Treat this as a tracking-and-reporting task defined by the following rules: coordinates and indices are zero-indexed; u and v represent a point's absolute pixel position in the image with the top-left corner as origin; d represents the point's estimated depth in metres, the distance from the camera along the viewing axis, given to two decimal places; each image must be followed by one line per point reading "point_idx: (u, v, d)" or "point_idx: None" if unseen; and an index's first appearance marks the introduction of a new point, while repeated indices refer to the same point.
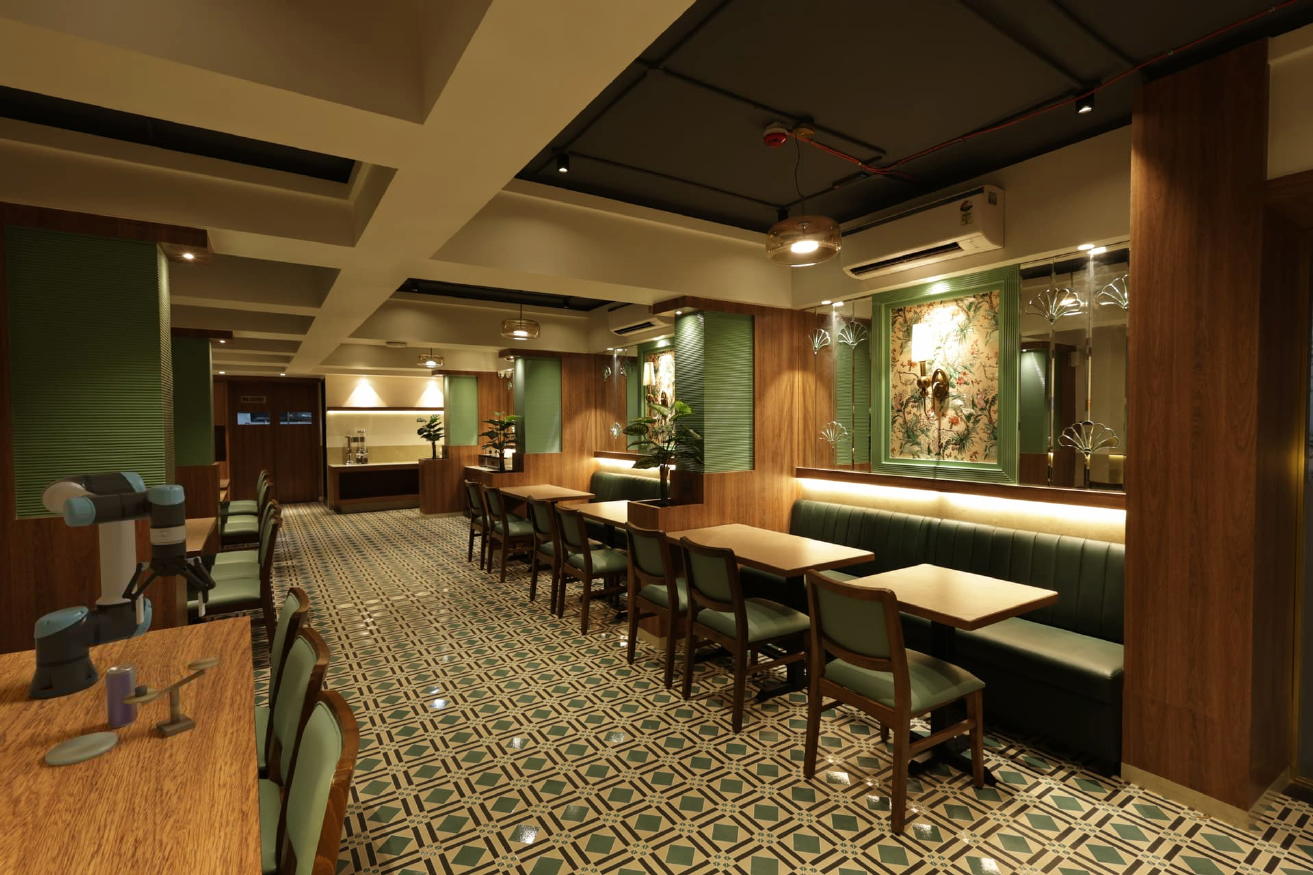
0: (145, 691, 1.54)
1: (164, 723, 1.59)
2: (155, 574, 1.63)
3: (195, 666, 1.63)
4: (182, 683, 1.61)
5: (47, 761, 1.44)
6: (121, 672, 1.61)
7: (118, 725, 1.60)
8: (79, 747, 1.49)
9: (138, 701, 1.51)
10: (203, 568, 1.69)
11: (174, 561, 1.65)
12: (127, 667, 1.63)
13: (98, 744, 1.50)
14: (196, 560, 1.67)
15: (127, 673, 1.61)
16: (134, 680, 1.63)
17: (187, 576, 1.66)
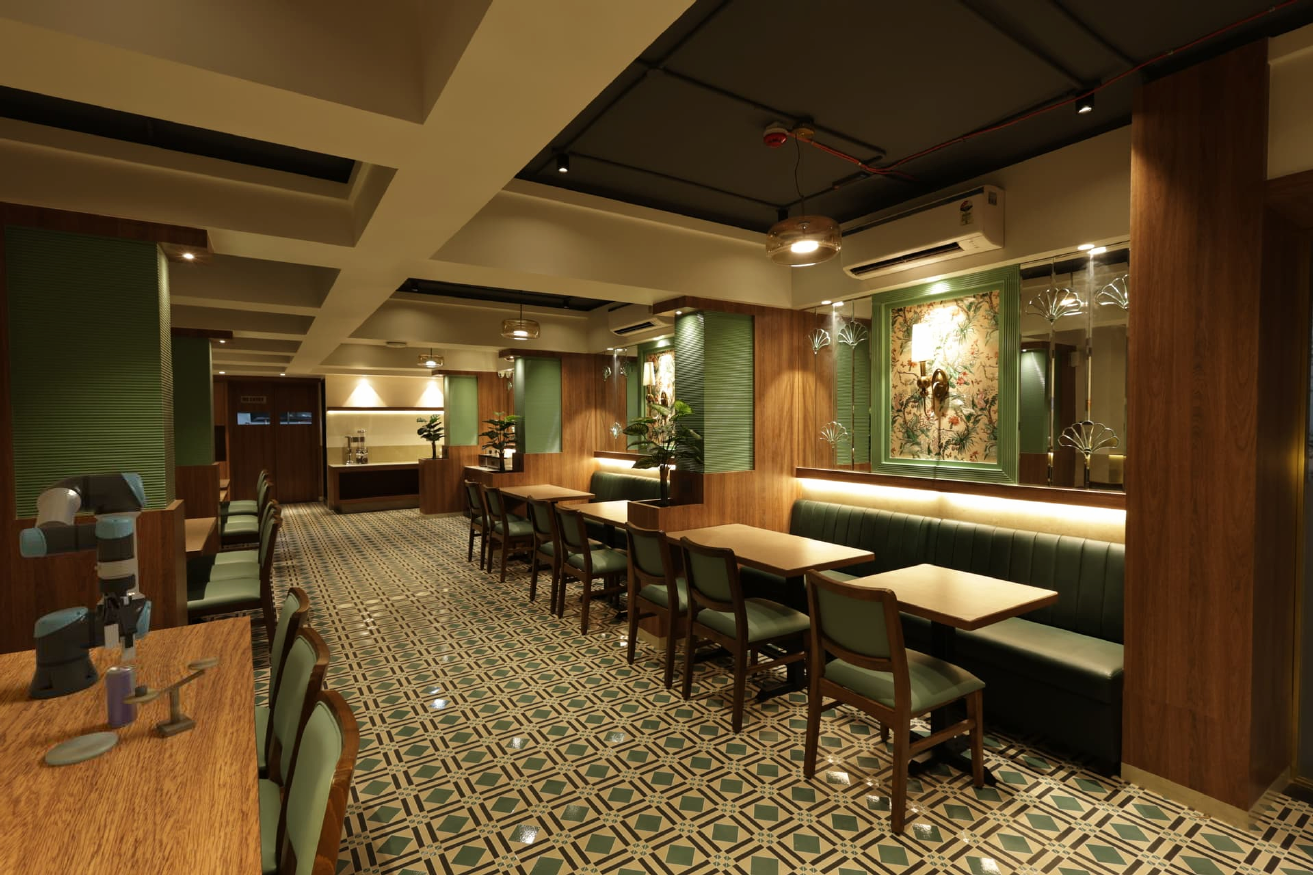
0: (145, 691, 1.54)
1: (164, 723, 1.59)
2: (106, 605, 1.62)
3: (195, 666, 1.63)
4: (182, 683, 1.61)
5: (47, 761, 1.44)
6: (121, 672, 1.61)
7: (118, 725, 1.60)
8: (79, 747, 1.49)
9: (138, 701, 1.51)
10: (126, 610, 1.57)
11: (113, 596, 1.60)
12: (127, 667, 1.63)
13: (98, 744, 1.50)
14: (119, 601, 1.57)
15: (127, 673, 1.61)
16: (134, 680, 1.63)
17: (117, 615, 1.58)
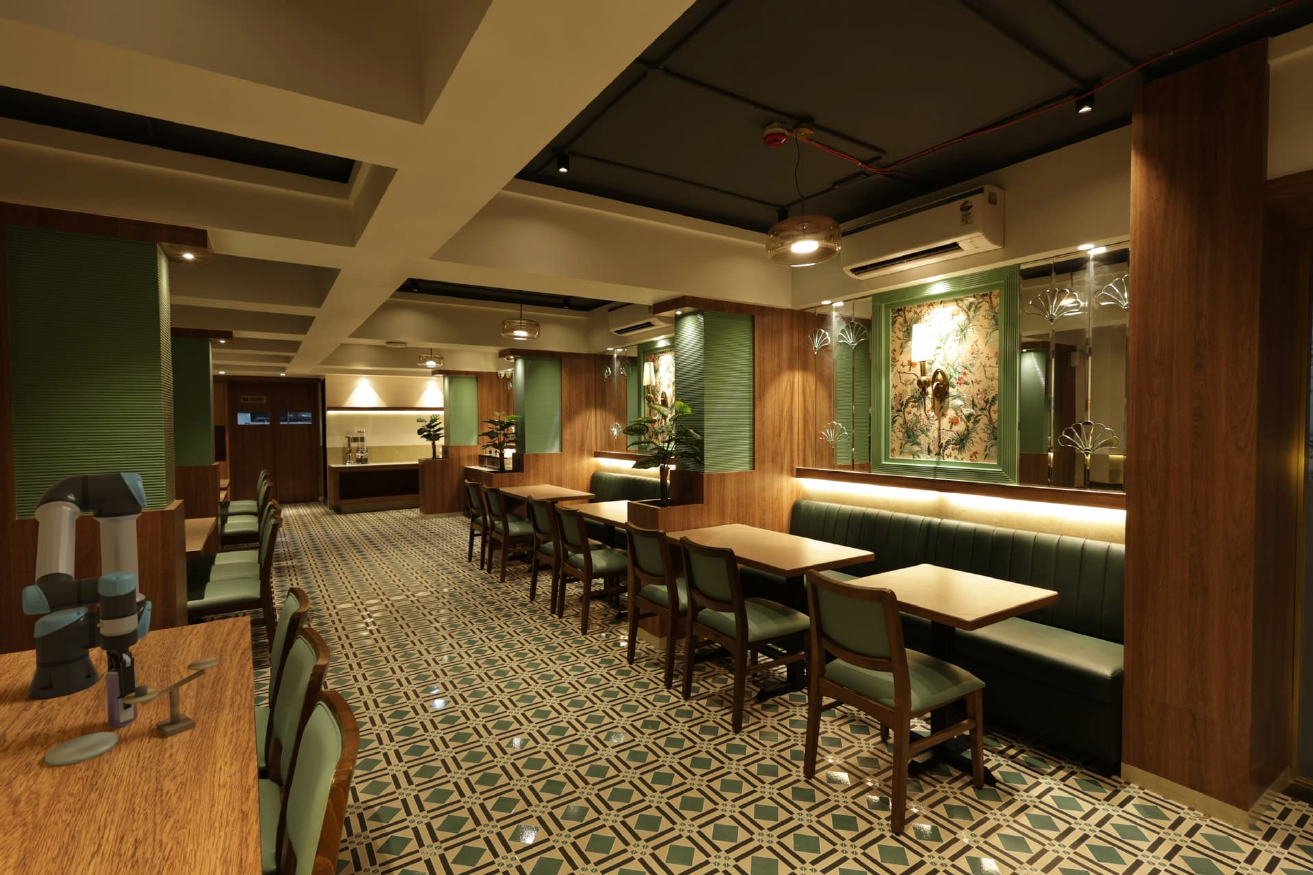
0: (145, 691, 1.54)
1: (164, 723, 1.59)
2: (110, 663, 1.62)
3: (195, 666, 1.63)
4: (182, 683, 1.61)
5: (47, 761, 1.44)
6: None
7: (118, 725, 1.60)
8: (79, 747, 1.49)
9: (138, 701, 1.51)
10: (127, 672, 1.59)
11: (116, 651, 1.60)
12: None
13: (98, 744, 1.50)
14: (121, 663, 1.58)
15: None
16: None
17: (118, 674, 1.60)
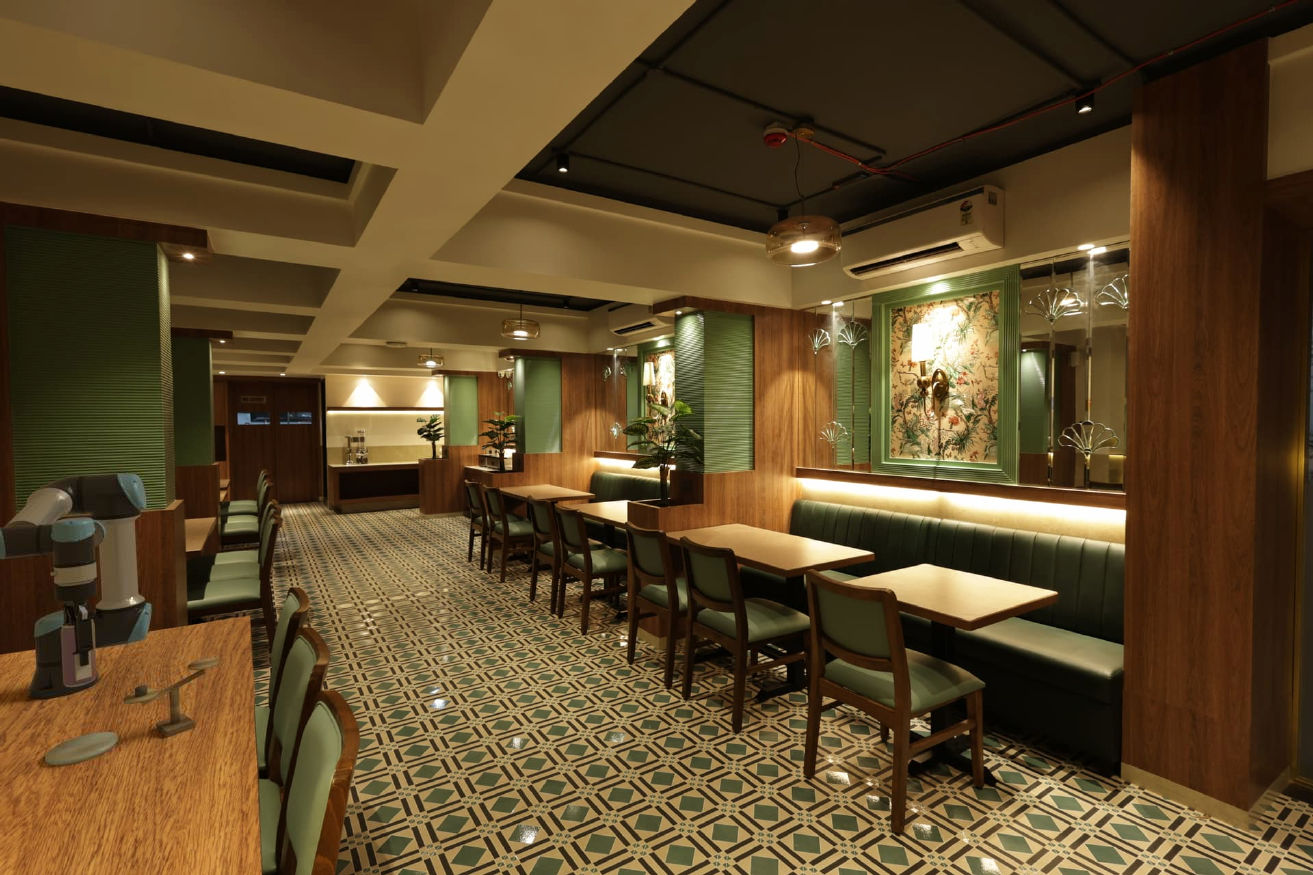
0: (145, 691, 1.54)
1: (164, 723, 1.59)
2: (65, 617, 1.48)
3: (195, 666, 1.63)
4: (182, 683, 1.61)
5: (47, 761, 1.44)
6: None
7: (74, 683, 1.47)
8: (79, 747, 1.49)
9: (138, 701, 1.51)
10: (84, 626, 1.45)
11: (72, 603, 1.47)
12: None
13: (98, 744, 1.50)
14: (77, 615, 1.44)
15: None
16: (93, 636, 1.50)
17: None
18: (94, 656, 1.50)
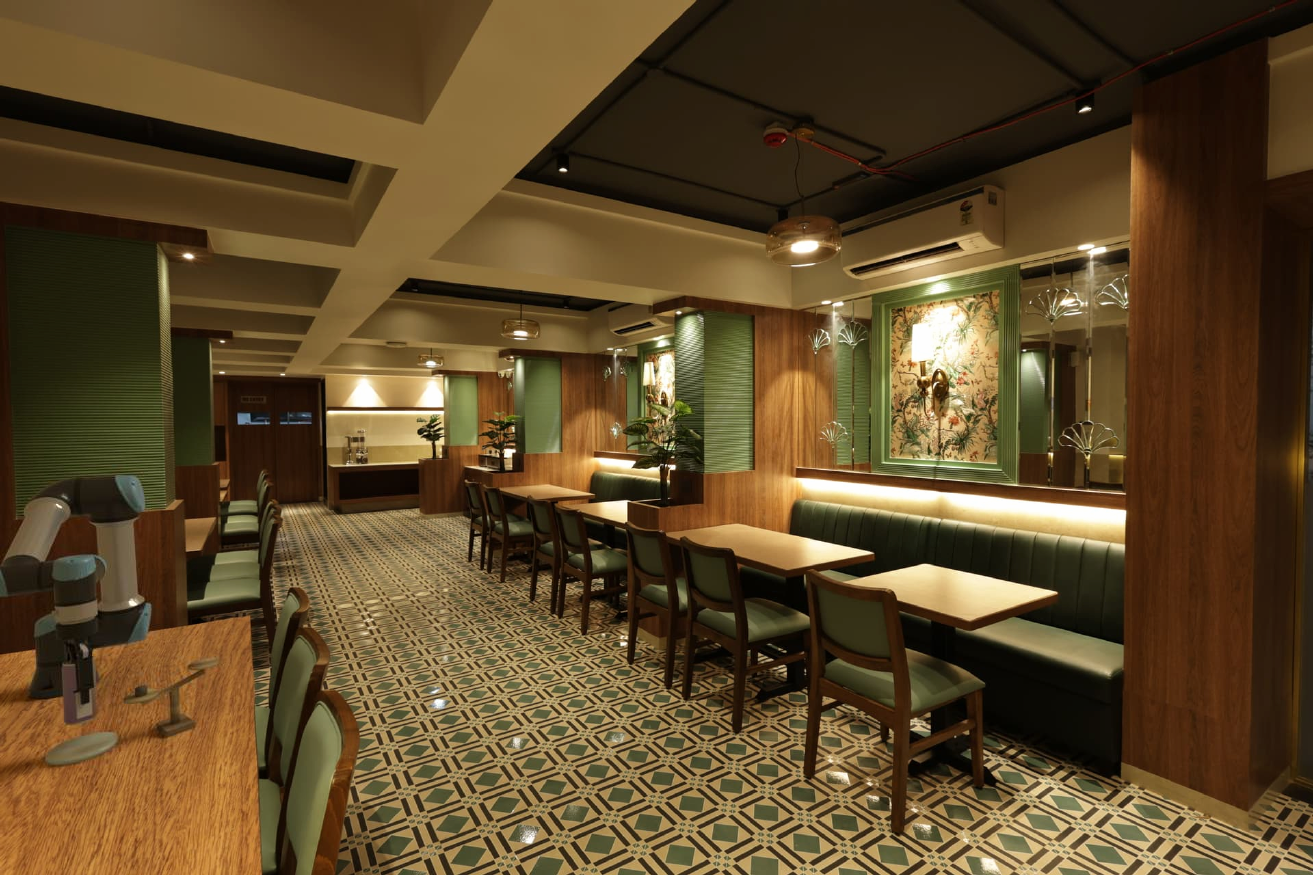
0: (145, 691, 1.54)
1: (164, 723, 1.59)
2: (66, 655, 1.48)
3: (195, 666, 1.63)
4: (182, 683, 1.61)
5: (47, 761, 1.44)
6: None
7: (75, 722, 1.47)
8: (79, 747, 1.49)
9: (138, 701, 1.51)
10: (84, 664, 1.45)
11: (73, 641, 1.47)
12: None
13: (98, 744, 1.50)
14: (77, 654, 1.44)
15: None
16: (93, 673, 1.50)
17: None
18: (95, 693, 1.50)
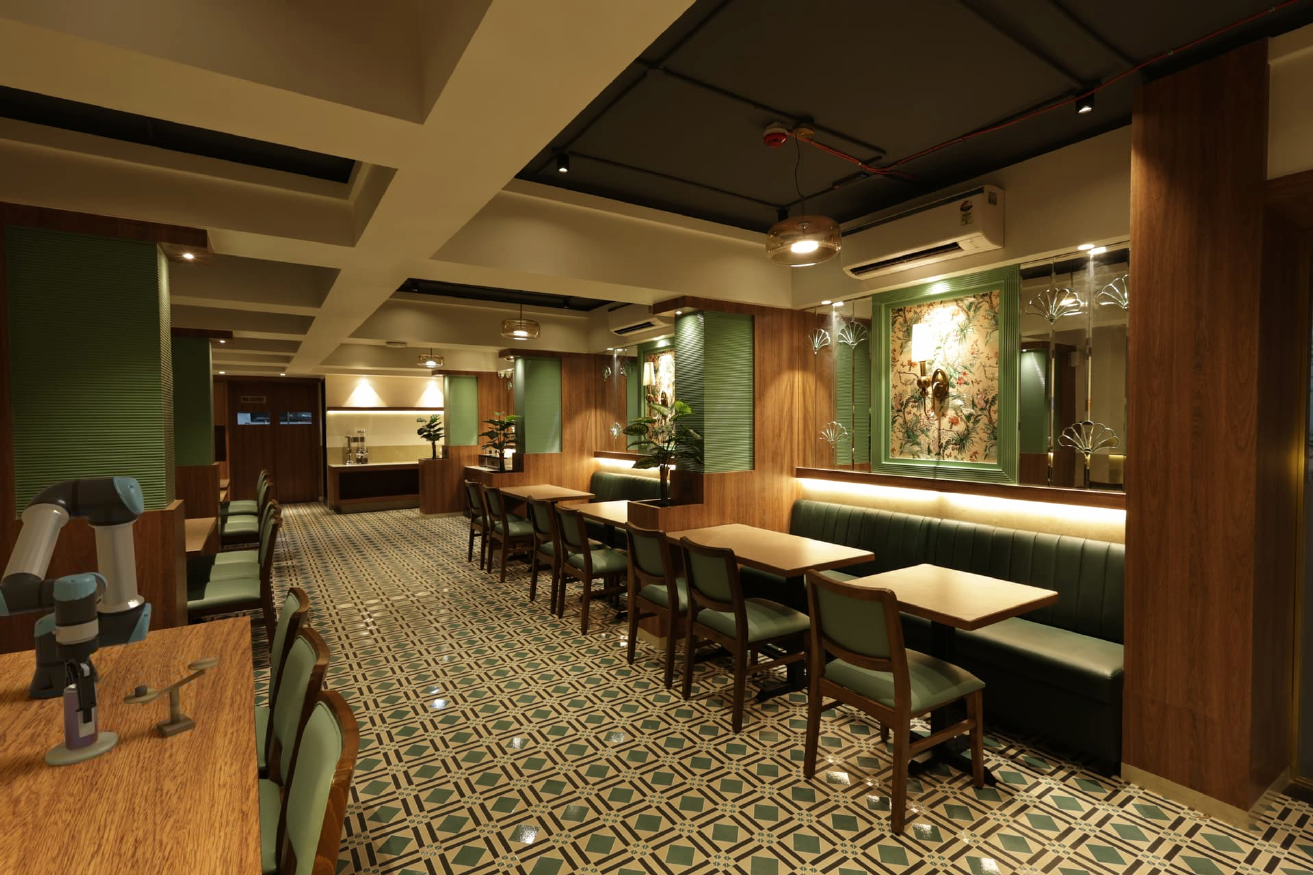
0: (145, 691, 1.54)
1: (164, 723, 1.59)
2: (67, 673, 1.49)
3: (195, 666, 1.63)
4: (182, 683, 1.61)
5: (47, 761, 1.44)
6: None
7: (76, 748, 1.47)
8: None
9: (138, 701, 1.51)
10: (86, 683, 1.45)
11: (73, 661, 1.47)
12: None
13: (98, 744, 1.50)
14: (78, 672, 1.44)
15: None
16: None
17: (76, 685, 1.46)
18: (96, 719, 1.51)
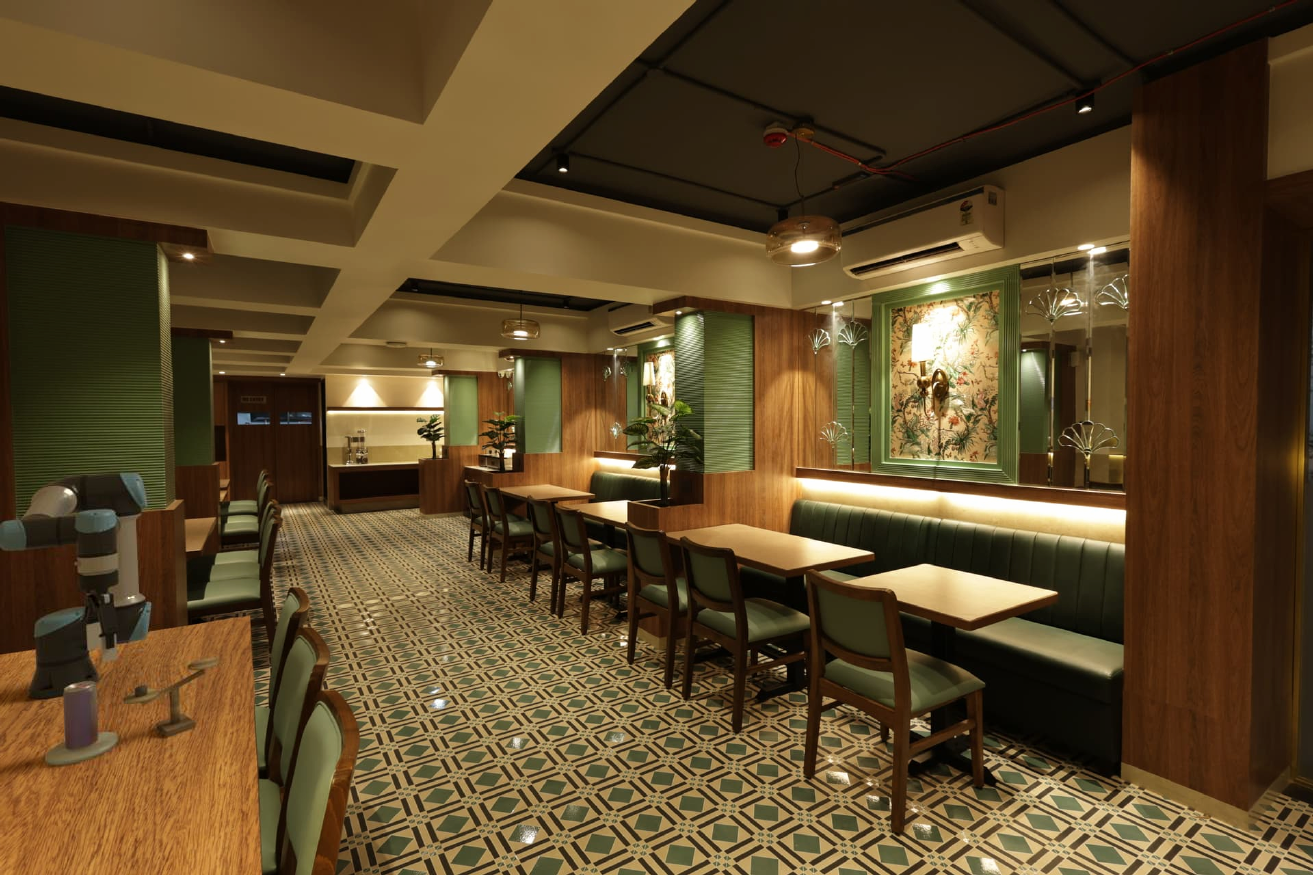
0: (145, 691, 1.54)
1: (164, 723, 1.59)
2: (88, 603, 1.53)
3: (195, 666, 1.63)
4: (182, 683, 1.61)
5: (47, 761, 1.44)
6: (80, 690, 1.47)
7: (76, 748, 1.47)
8: None
9: (138, 701, 1.51)
10: (107, 609, 1.49)
11: (94, 594, 1.51)
12: (87, 684, 1.50)
13: (98, 744, 1.50)
14: (99, 599, 1.48)
15: (87, 691, 1.48)
16: (95, 698, 1.50)
17: (98, 614, 1.50)
18: (96, 719, 1.51)
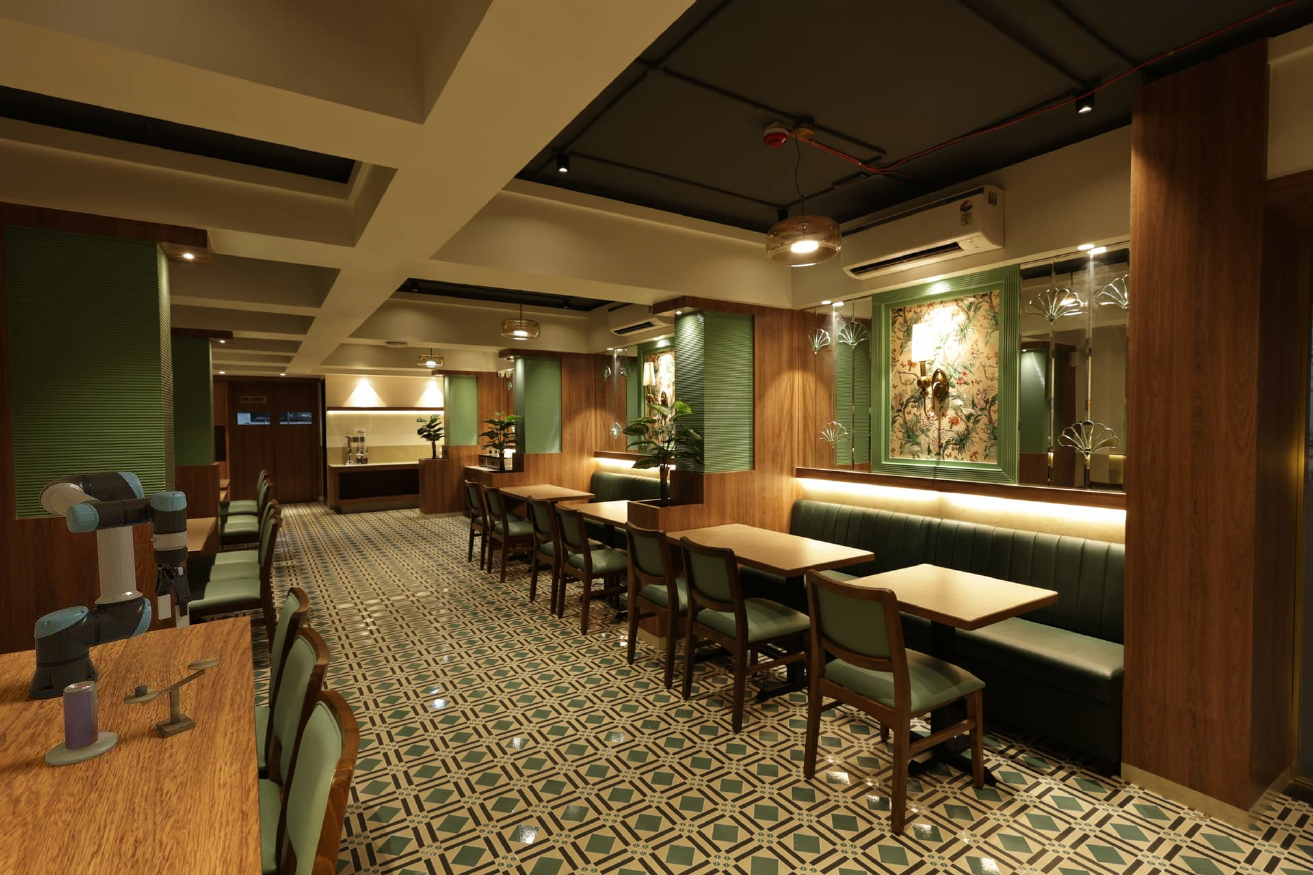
0: (145, 691, 1.54)
1: (164, 723, 1.59)
2: (160, 576, 1.69)
3: (195, 666, 1.63)
4: (182, 683, 1.61)
5: (47, 761, 1.44)
6: (80, 690, 1.47)
7: (76, 748, 1.47)
8: None
9: (138, 701, 1.51)
10: (181, 580, 1.65)
11: (168, 567, 1.67)
12: (87, 684, 1.50)
13: (98, 744, 1.50)
14: (174, 571, 1.64)
15: (86, 691, 1.48)
16: (94, 698, 1.50)
17: (172, 585, 1.66)
18: (96, 719, 1.51)
